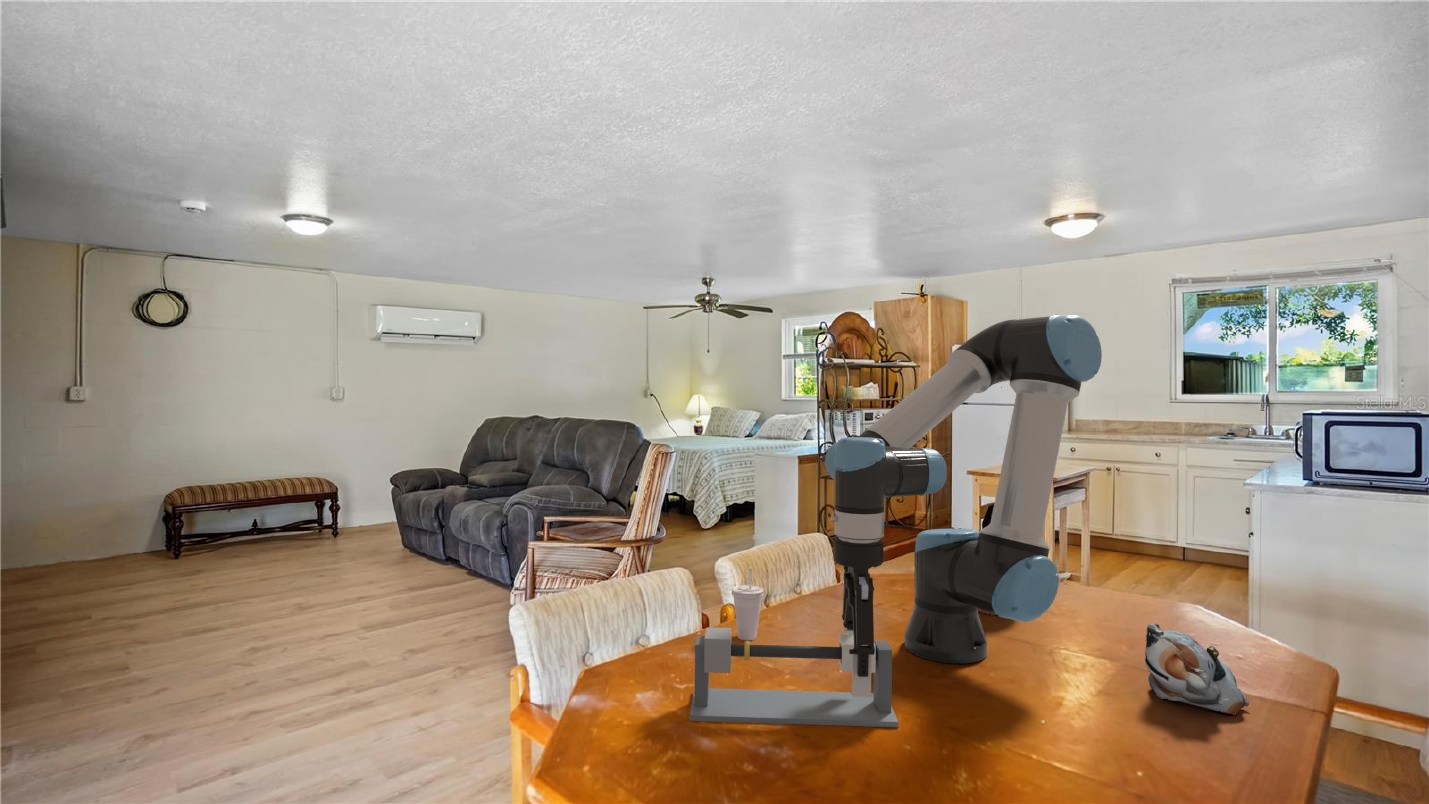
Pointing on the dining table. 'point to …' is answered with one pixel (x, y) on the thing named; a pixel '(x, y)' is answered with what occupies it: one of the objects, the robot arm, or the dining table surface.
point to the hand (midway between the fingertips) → (856, 682)
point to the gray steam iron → (1190, 672)
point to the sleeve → (846, 660)
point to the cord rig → (781, 703)
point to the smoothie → (747, 608)
